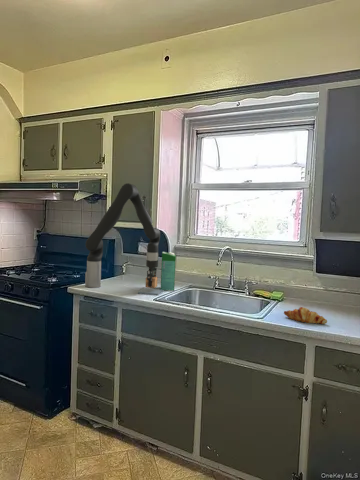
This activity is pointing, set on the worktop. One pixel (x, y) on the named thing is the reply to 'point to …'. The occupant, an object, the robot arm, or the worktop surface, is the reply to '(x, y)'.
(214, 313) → the worktop surface
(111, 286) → the worktop surface
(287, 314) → the croissant
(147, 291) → the slate mat
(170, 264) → the milk carton
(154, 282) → the wood block
